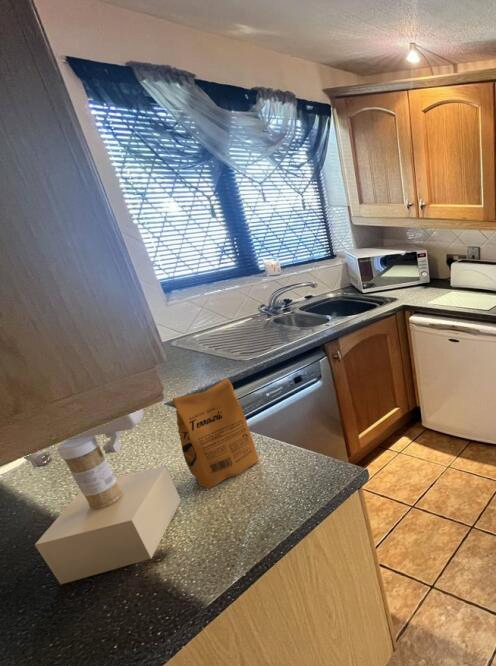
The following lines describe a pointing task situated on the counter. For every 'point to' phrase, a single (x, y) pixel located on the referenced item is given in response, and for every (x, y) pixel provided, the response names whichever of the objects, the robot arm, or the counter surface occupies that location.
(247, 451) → the coffee package
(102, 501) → the sprinkles bottle
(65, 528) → the beige rectangular block
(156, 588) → the counter surface
